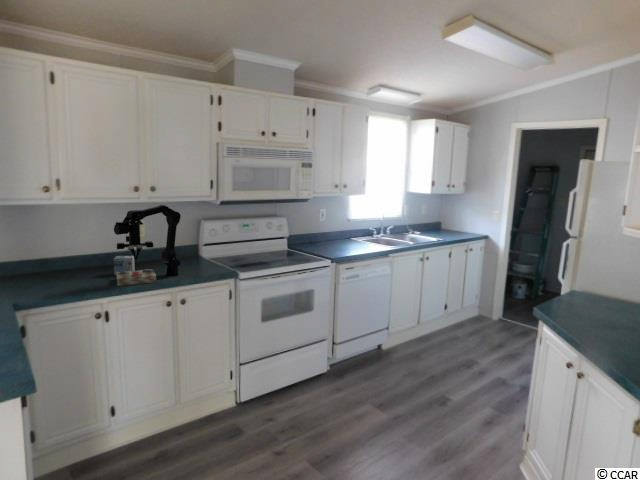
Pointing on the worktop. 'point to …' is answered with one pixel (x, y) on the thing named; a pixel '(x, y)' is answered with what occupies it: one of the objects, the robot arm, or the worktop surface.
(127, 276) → the plug board
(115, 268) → the light bulb box
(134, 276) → the red plug
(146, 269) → the grey plug
